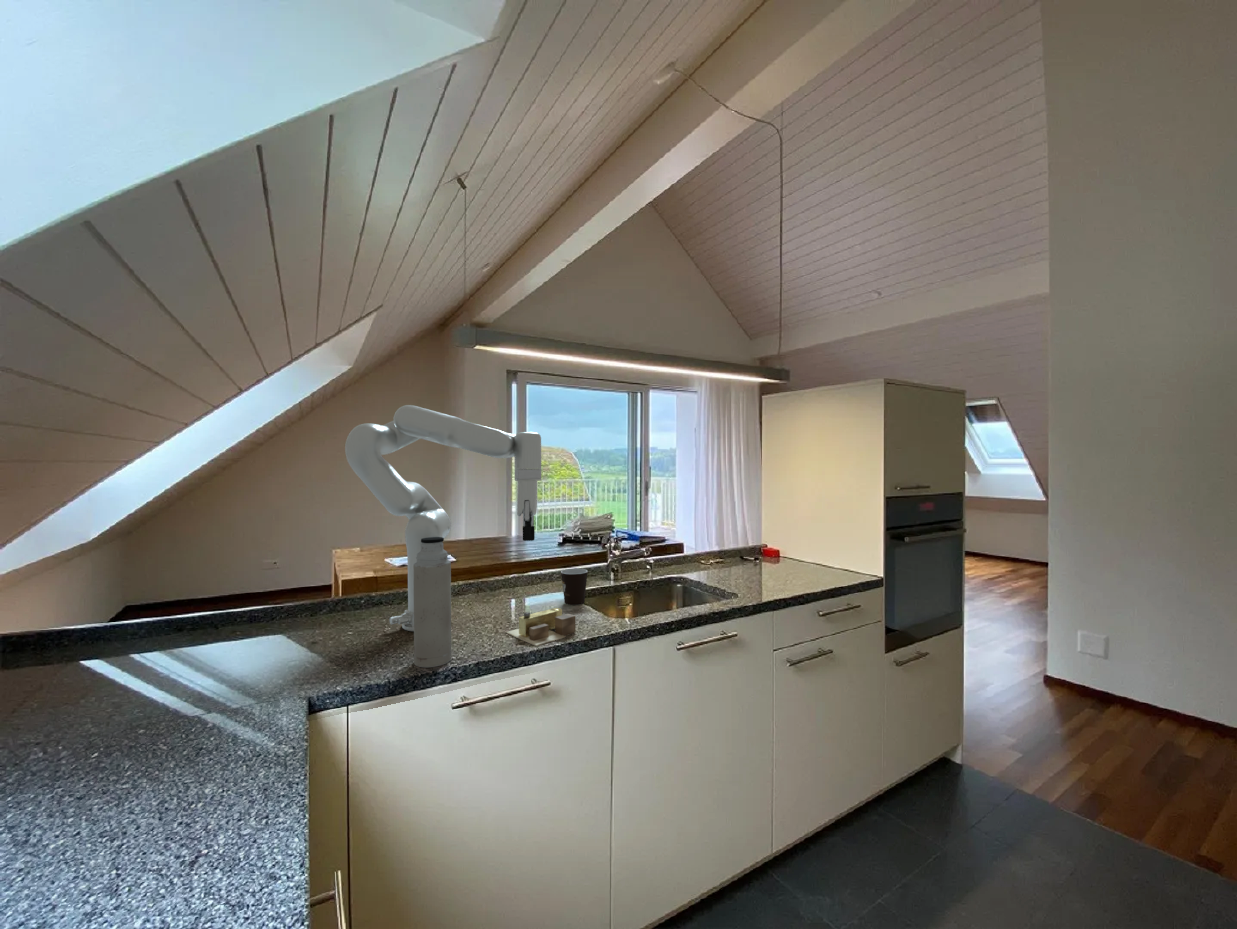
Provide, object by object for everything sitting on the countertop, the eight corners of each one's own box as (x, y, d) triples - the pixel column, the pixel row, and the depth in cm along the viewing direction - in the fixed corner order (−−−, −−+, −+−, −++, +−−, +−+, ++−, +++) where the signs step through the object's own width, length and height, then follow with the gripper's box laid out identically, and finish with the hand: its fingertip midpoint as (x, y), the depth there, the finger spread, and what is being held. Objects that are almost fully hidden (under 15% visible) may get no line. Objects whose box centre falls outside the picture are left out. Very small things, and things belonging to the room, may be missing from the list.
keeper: (533, 642, 127) (533, 629, 127) (529, 640, 128) (529, 627, 128) (548, 637, 130) (548, 625, 130) (544, 636, 132) (544, 623, 132)
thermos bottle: (406, 663, 114) (405, 538, 114) (435, 652, 121) (434, 534, 121) (430, 670, 110) (429, 541, 110) (458, 658, 117) (458, 536, 117)
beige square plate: (536, 646, 124) (536, 645, 124) (506, 633, 134) (506, 632, 134) (581, 632, 134) (581, 631, 134) (550, 621, 144) (550, 620, 144)
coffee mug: (586, 605, 160) (586, 574, 160) (559, 606, 160) (559, 574, 160) (589, 596, 171) (589, 566, 172) (564, 596, 172) (563, 567, 172)
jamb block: (562, 636, 131) (562, 619, 131) (555, 633, 133) (555, 617, 133) (575, 632, 134) (575, 615, 134) (568, 630, 136) (568, 613, 136)
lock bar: (557, 623, 140) (557, 603, 140) (564, 625, 138) (564, 605, 138) (518, 634, 132) (518, 613, 132) (525, 636, 129) (525, 615, 129)
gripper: (517, 475, 151) (517, 537, 151) (511, 476, 136) (512, 544, 136) (542, 475, 152) (543, 536, 152) (540, 476, 137) (540, 544, 137)
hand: (528, 540), depth 144 cm, fingers closed
